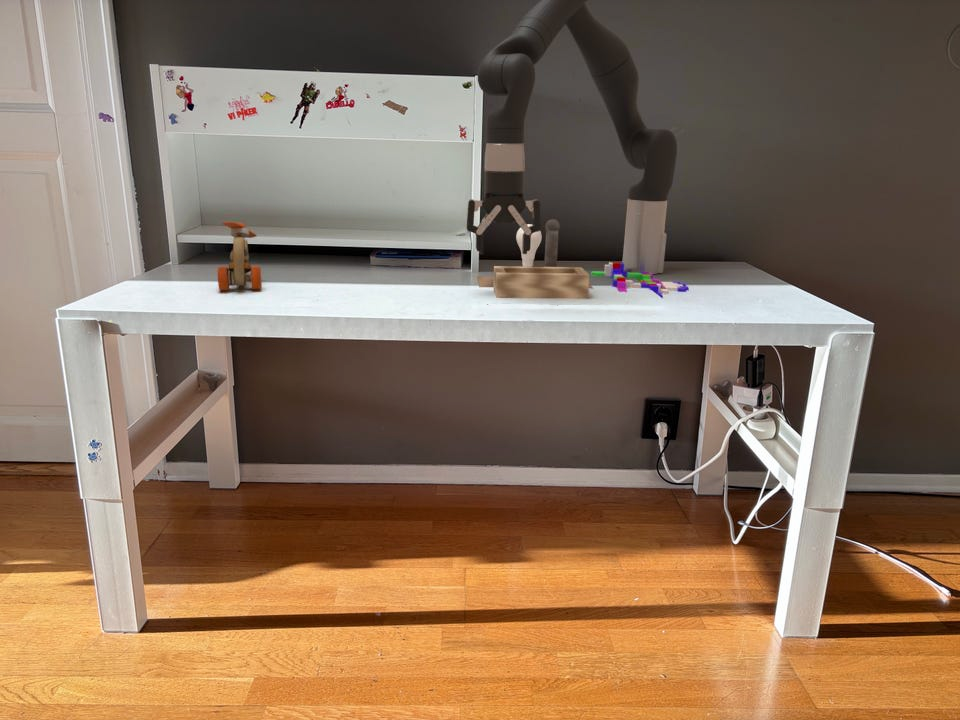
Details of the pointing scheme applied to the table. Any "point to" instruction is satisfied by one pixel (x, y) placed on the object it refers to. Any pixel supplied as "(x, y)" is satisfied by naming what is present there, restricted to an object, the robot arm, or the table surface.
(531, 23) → the robot arm
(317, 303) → the table surface
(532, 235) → the lightbulb
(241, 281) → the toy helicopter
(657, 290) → the building block set
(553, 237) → the walnut post stand
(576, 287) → the open wooden box
